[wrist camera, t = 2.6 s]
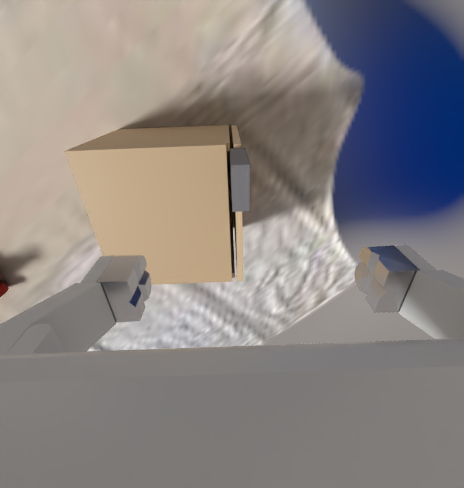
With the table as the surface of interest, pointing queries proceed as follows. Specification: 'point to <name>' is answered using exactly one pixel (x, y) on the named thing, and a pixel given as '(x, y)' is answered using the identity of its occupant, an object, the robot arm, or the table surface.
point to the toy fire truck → (3, 288)
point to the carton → (161, 199)
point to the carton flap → (239, 193)
